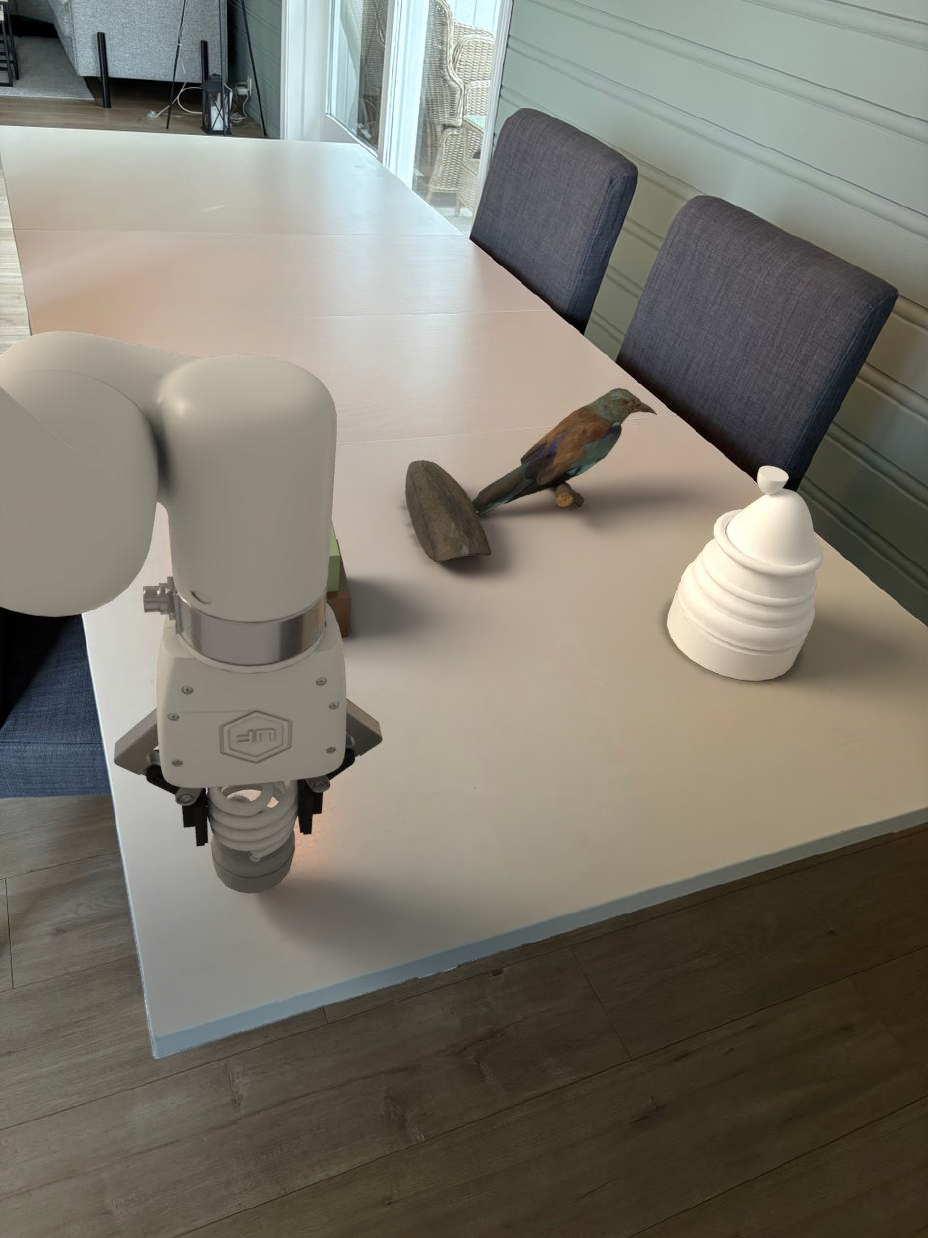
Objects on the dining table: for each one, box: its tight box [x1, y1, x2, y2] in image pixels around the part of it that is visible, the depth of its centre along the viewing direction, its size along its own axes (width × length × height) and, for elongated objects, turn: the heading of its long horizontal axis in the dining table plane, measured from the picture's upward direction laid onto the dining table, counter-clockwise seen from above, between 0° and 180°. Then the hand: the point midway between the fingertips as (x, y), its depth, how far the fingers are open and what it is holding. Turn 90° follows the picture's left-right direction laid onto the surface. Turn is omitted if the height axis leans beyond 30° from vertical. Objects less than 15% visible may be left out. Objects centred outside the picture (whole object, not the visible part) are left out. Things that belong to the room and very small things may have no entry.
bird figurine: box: [471, 387, 658, 517], centre depth 101 cm, size 13×10×20 cm
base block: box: [326, 538, 352, 637], centre depth 84 cm, size 9×9×4 cm
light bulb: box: [206, 779, 299, 895], centre depth 58 cm, size 6×6×12 cm
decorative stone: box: [404, 459, 492, 563], centre depth 97 cm, size 17×6×4 cm, turn 19°
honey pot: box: [666, 465, 825, 682], centre depth 85 cm, size 13×13×18 cm
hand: (253, 820), depth 58 cm, fingers closed on light bulb, 5 cm apart
